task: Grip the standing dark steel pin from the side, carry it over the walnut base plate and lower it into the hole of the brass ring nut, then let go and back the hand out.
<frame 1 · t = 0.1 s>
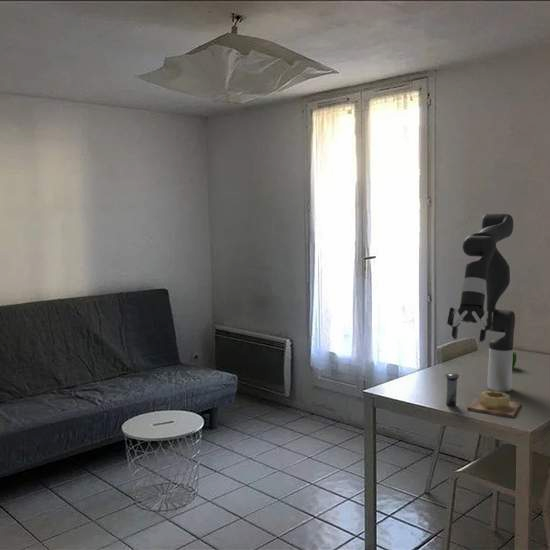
hand: (467, 340, 196), 31 cm above the table, tool tilted 20°, fingers open, 8 cm apart
bell pepper: (506, 368, 280), on the table
nut base: (494, 407, 224), on the table
steel pin: (451, 405, 227), on the table
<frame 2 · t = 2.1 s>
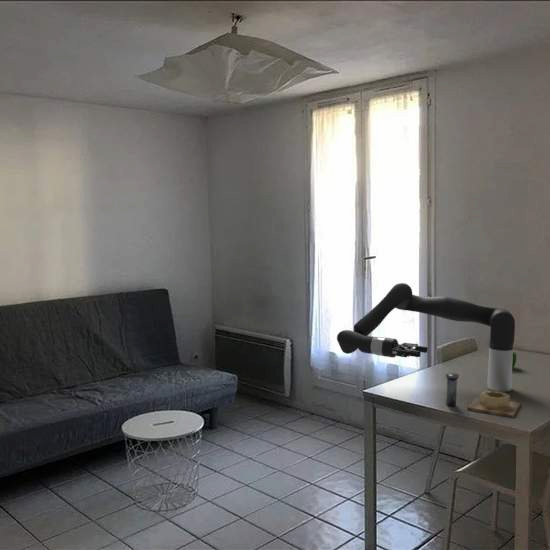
hand: (423, 352, 230), 19 cm above the table, tool horizontal, fingers open, 8 cm apart
nothing on the table moved.
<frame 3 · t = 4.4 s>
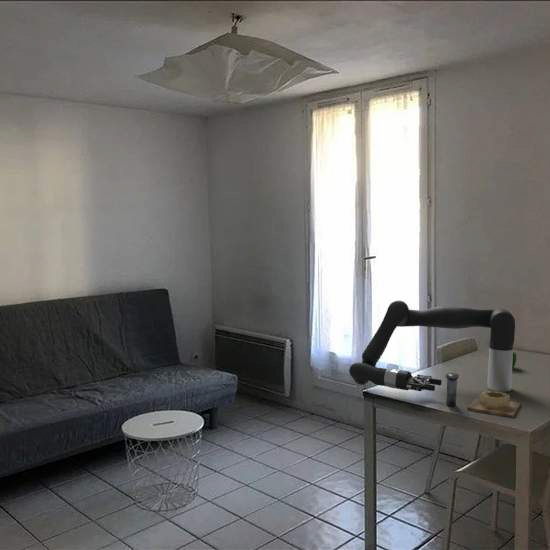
hand: (438, 385, 229), 7 cm above the table, tool horizontal, fingers open, 8 cm apart
nothing on the table moved.
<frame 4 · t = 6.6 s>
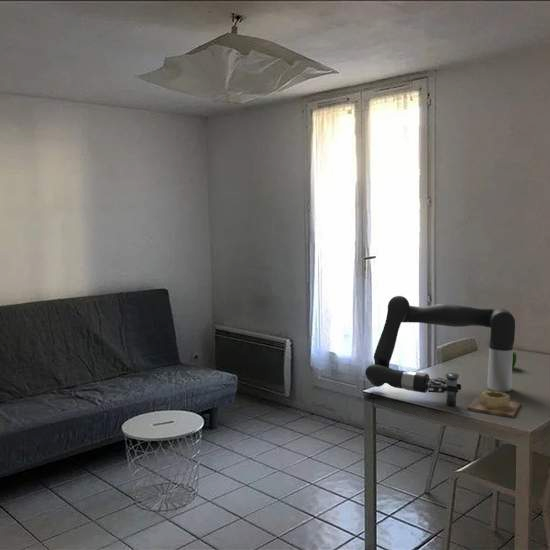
hand: (459, 388, 224), 7 cm above the table, tool horizontal, fingers closed on steel pin, 3 cm apart
steel pin: (451, 405, 227), on the table, touching gripper
everything else where it was.
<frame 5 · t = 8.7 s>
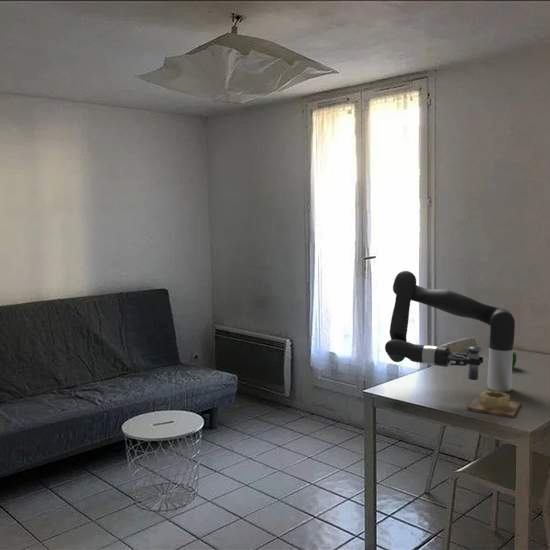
hand: (481, 361, 222), 18 cm above the table, tool horizontal, fingers closed on steel pin, 3 cm apart
steel pin: (473, 378, 224), point 11 cm above the table, touching gripper
everything else where it was.
when the fingers open (10 cm above the table, at t = 11.1 s): steel pin drops 2 cm, resting on nut base.
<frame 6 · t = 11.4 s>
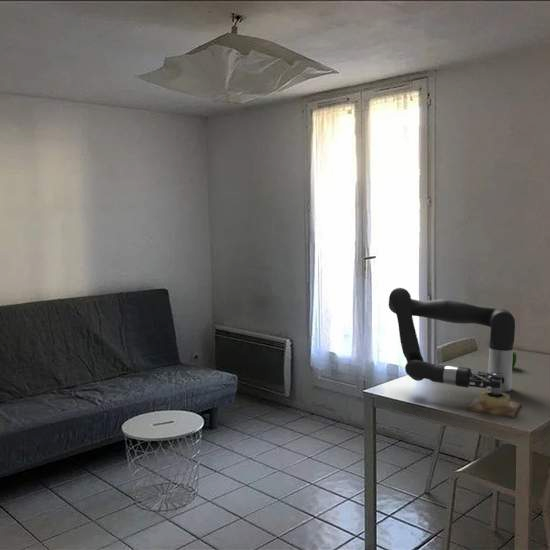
hand: (502, 382, 222), 10 cm above the table, tool horizontal, fingers open, 6 cm apart
steel pin: (494, 404, 224), point 1 cm above the table, touching nut base
everything else where it was.
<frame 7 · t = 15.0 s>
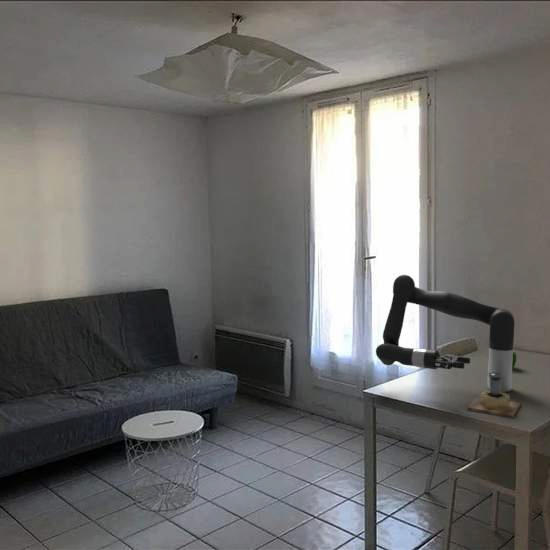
hand: (467, 363, 228), 16 cm above the table, tool horizontal, fingers open, 8 cm apart
nothing on the table moved.
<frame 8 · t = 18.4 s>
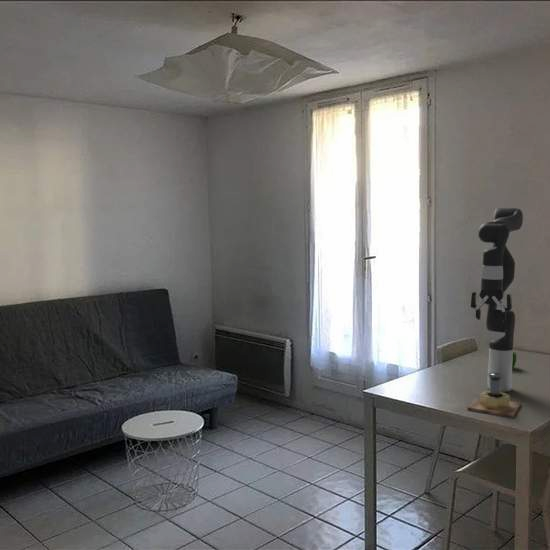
hand: (490, 320, 222), 33 cm above the table, tool pointing down, fingers open, 8 cm apart
nothing on the table moved.
at the end: steel pin 0.1 cm off-centre on the nut base, point 1.0 cm above the nut base's base; steel pin tilted 1°; the gripper is holding nothing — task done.
